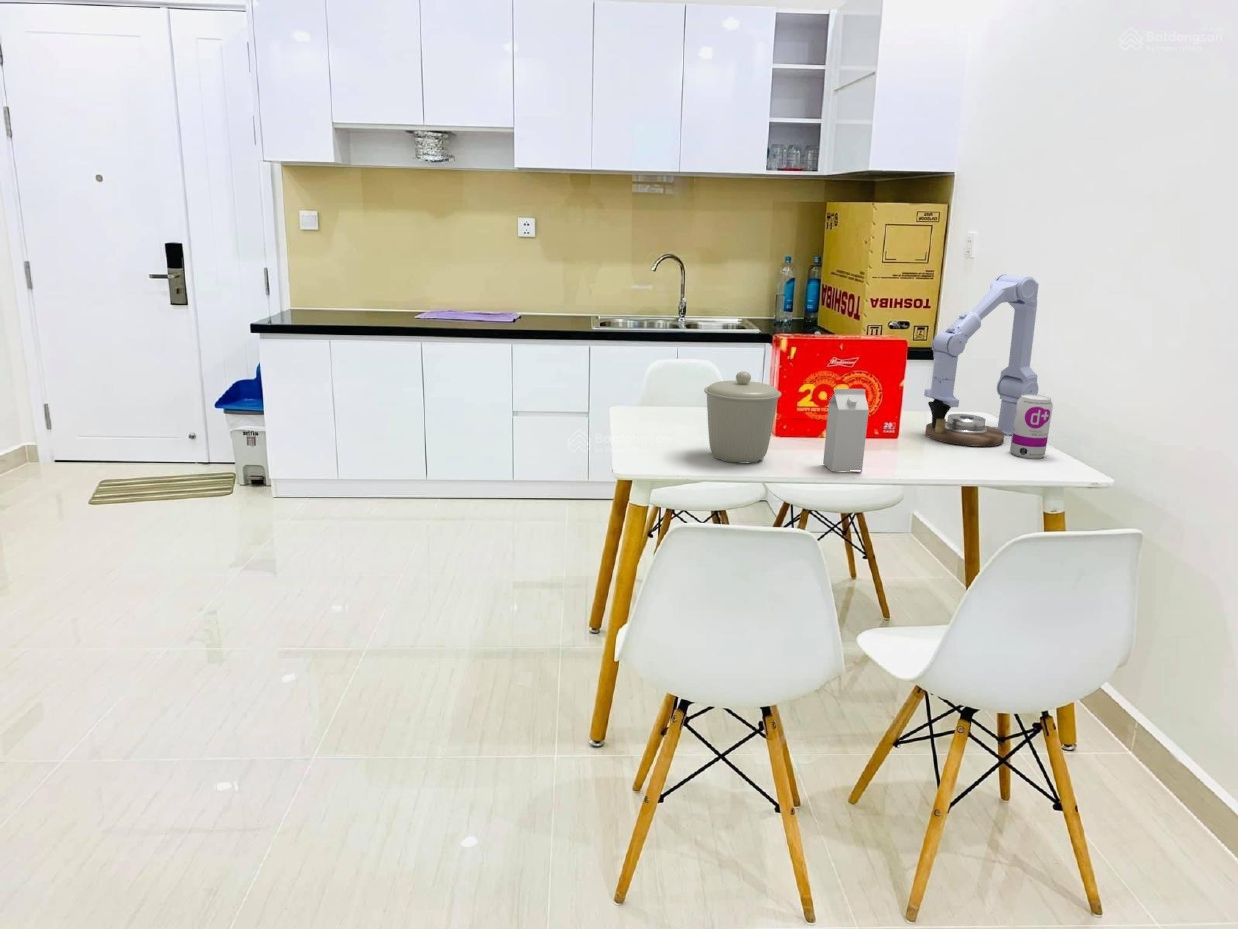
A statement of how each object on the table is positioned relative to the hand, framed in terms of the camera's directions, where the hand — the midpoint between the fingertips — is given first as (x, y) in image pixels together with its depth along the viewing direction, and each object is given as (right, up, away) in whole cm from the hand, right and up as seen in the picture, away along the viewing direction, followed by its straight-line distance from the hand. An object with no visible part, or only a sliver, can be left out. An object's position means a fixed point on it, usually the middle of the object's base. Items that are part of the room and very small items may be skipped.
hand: (937, 428), depth 245 cm
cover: (+8, 0, +2) cm, 9 cm away
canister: (-57, -8, -25) cm, 63 cm away
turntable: (+8, -3, +3) cm, 9 cm away
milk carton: (-33, -11, -31) cm, 47 cm away
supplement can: (+18, -8, -13) cm, 24 cm away
